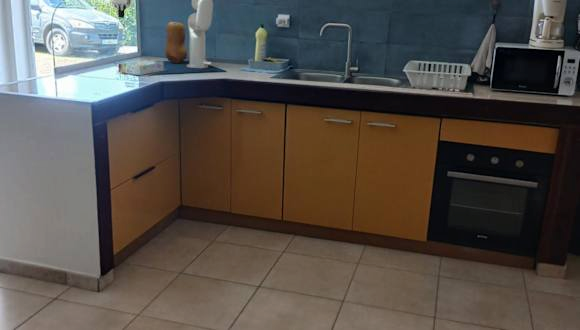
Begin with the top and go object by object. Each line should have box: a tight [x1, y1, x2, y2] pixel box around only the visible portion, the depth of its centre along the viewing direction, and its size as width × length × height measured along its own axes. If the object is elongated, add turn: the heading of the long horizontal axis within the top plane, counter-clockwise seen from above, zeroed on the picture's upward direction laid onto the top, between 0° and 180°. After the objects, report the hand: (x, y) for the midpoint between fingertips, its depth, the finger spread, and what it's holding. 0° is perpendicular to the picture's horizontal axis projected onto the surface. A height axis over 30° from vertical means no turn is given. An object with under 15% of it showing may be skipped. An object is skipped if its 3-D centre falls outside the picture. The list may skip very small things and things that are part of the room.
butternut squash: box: [164, 21, 188, 64], centre depth 371 cm, size 14×13×25 cm
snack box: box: [118, 59, 165, 76], centre depth 334 cm, size 21×6×15 cm
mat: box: [125, 69, 167, 77], centre depth 336 cm, size 14×24×1 cm, turn 166°
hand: (121, 17), depth 331 cm, fingers closed
